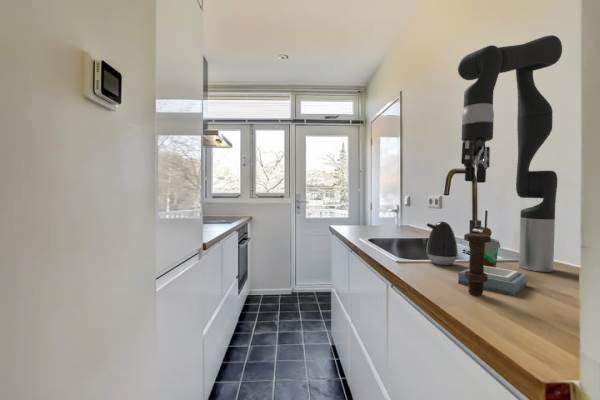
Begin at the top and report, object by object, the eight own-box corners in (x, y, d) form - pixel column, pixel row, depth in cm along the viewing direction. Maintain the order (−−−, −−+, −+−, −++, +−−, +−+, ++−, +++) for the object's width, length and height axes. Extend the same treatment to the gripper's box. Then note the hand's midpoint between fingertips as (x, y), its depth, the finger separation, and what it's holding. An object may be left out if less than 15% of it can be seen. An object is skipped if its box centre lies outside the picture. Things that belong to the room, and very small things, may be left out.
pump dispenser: (422, 259, 115) (423, 219, 114) (451, 261, 113) (453, 220, 112) (429, 266, 105) (430, 222, 104) (461, 267, 103) (462, 223, 102)
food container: (502, 275, 94) (503, 243, 94) (480, 272, 97) (480, 241, 96) (496, 266, 105) (497, 238, 105) (476, 264, 108) (477, 236, 108)
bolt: (491, 299, 72) (493, 236, 72) (468, 297, 73) (470, 235, 73) (482, 291, 78) (483, 233, 78) (460, 289, 79) (462, 232, 79)
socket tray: (474, 275, 94) (475, 263, 94) (526, 285, 84) (526, 271, 84) (458, 283, 85) (458, 269, 85) (513, 295, 75) (513, 280, 75)
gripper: (472, 129, 91) (470, 183, 91) (452, 121, 82) (450, 180, 82) (500, 125, 86) (498, 183, 86) (483, 116, 76) (481, 180, 76)
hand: (475, 181), depth 84 cm, fingers open, 8 cm apart
